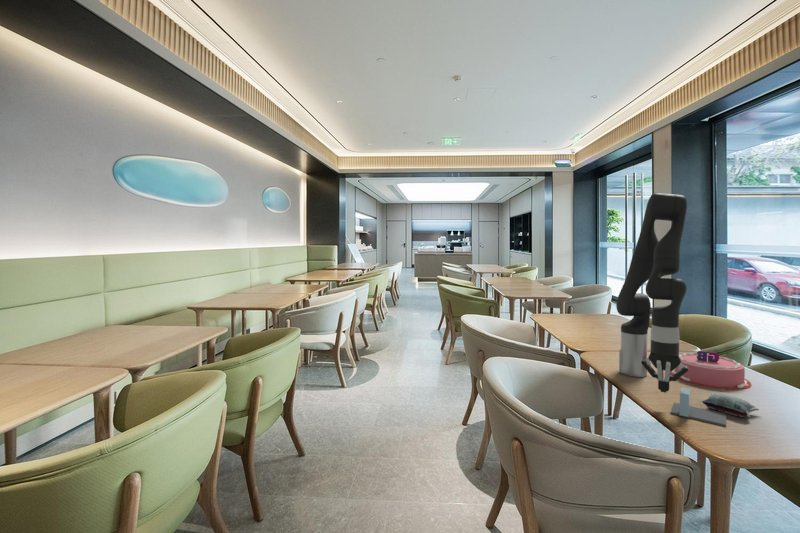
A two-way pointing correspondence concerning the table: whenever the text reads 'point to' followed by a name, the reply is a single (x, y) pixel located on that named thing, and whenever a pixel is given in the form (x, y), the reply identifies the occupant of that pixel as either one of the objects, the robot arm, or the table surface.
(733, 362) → the cake
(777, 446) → the table surface
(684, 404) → the block
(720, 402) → the packaged food
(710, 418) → the mat
